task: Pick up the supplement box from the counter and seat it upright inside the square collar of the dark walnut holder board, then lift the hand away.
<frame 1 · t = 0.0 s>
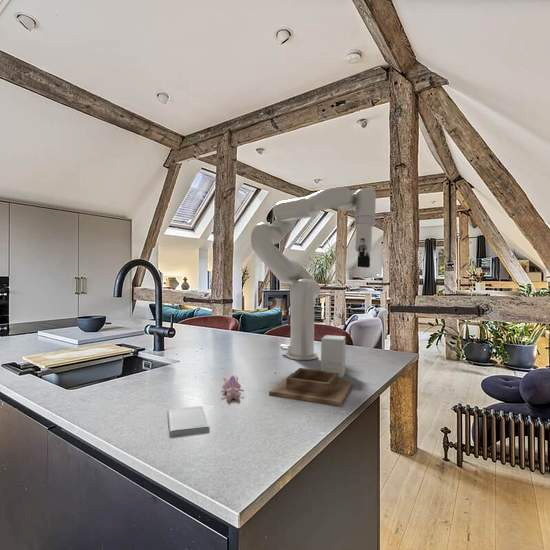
hand: (363, 267, 136), 37 cm above the counter, tool pointing down, fingers open, 9 cm apart
supplement box: (333, 374, 121), on the counter
hard drive: (187, 425, 81), on the counter
walnut holder: (313, 389, 105), on the counter
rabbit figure: (231, 394, 100), on the counter
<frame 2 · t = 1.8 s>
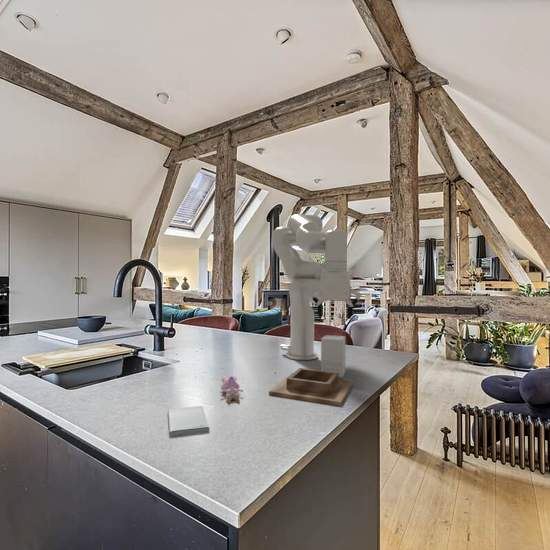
hand: (334, 317, 120), 19 cm above the counter, tool pointing down, fingers open, 9 cm apart
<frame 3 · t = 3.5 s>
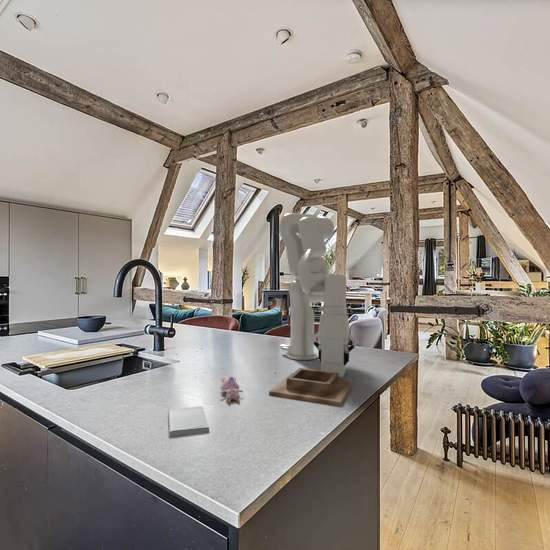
hand: (333, 362, 121), 4 cm above the counter, tool pointing down, fingers closed on supplement box, 7 cm apart
supplement box: (333, 374, 121), on the counter, touching gripper
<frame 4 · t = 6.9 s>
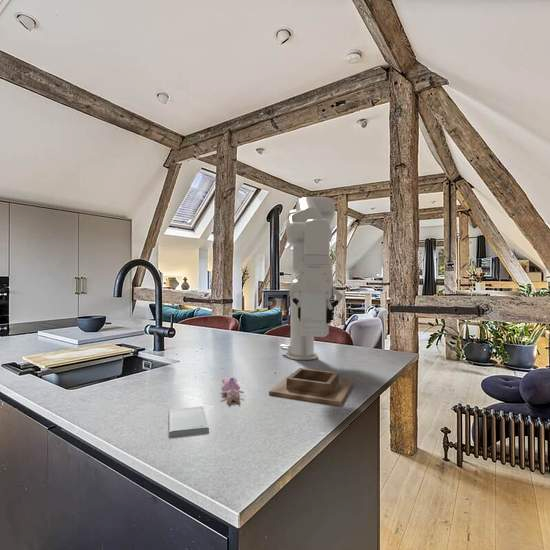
hand: (315, 321, 105), 20 cm above the counter, tool pointing down, fingers closed on supplement box, 7 cm apart
supplement box: (314, 335, 105), point 16 cm above the counter, touching gripper
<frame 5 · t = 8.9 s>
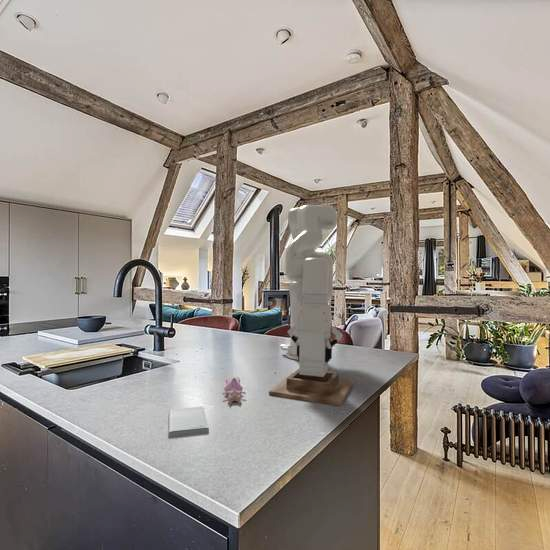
hand: (313, 359, 105), 9 cm above the counter, tool pointing down, fingers closed on supplement box, 7 cm apart
supplement box: (313, 373, 105), point 5 cm above the counter, touching gripper
when the fingers open (6 cm above the counter, at t = 10.5 s): supplement box drops 1 cm, resting on walnut holder.
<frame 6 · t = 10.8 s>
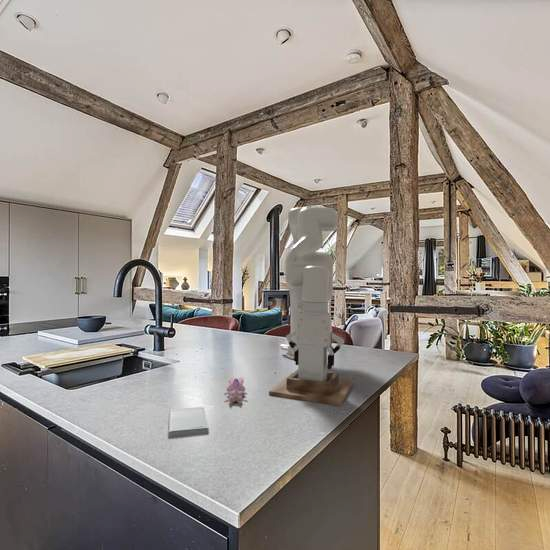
hand: (313, 365, 105), 7 cm above the counter, tool pointing down, fingers open, 9 cm apart
supplement box: (312, 385, 105), point 1 cm above the counter, touching walnut holder
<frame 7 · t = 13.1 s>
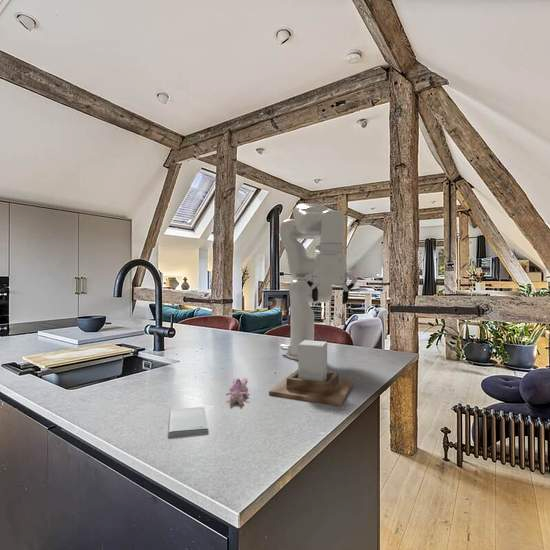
hand: (329, 302, 116), 25 cm above the counter, tool pointing down, fingers open, 9 cm apart
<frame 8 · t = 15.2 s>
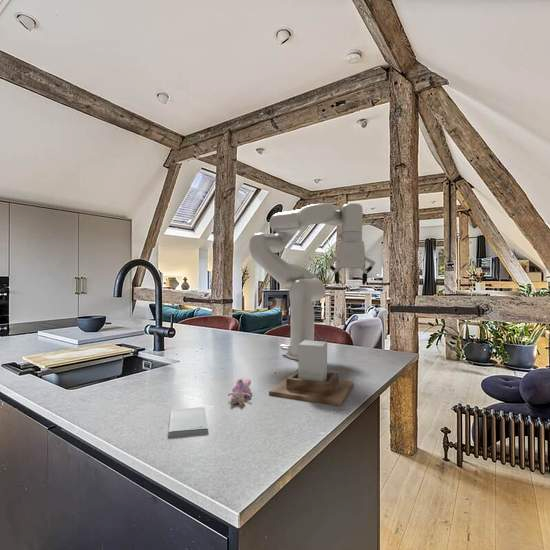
hand: (350, 284, 132), 30 cm above the counter, tool pointing down, fingers open, 9 cm apart
at the end: supplement box 0.4 cm off-centre on the walnut holder, point 0.8 cm above the walnut holder's base; supplement box tilted 0°; the gripper is holding nothing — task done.
